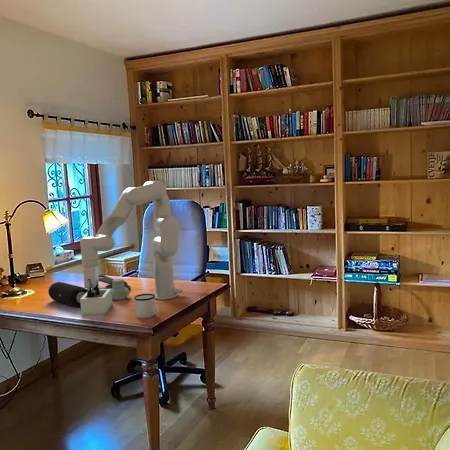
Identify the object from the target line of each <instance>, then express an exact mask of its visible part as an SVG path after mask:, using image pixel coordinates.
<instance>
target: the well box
mask: <svg viewBox="0 0 450 450" xmlns="http://www.w3.org/2000/svg"><path fill="white" fill-rule="evenodd" d="M99 293H100V294H99V295H97V297H92V298H87V292H86V293H85V295H84V296H83V297H82V298H81V299H80V304H81V307H80V313H81V317H86V316H87V317H88V316H100V315H101V316H102V315H106V314H107V313H108V311H109V310H110V309H111V307H112V306H113V299H112V292H111V289H106V288H101V289H100V288H99Z"/></svg>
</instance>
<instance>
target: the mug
mask: <svg viewBox="0 0 450 450" xmlns="http://www.w3.org/2000/svg"><path fill="white" fill-rule="evenodd" d="M154 294H155V293H141V294H138V295H135V296H134V297H133V299H134V300H135V311H136V314H135V315H136V318H139V319H150V318H152V317H154V316H155V315H156V314H158V313H159V305H158V303H157V302H155V299H154V298H155V295H154Z"/></svg>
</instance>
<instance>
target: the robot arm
mask: <svg viewBox="0 0 450 450" xmlns="http://www.w3.org/2000/svg"><path fill="white" fill-rule="evenodd" d="M148 203H152V204H153V205H152V206H153V229H154V231H155V232H156V233H158V234H160V235H157V236H155V238H153V239H152V240H151V241H152V242H151V245H150V247H151V252H152V258H153V269H154V281H155V293H153V294H154V295H155V298H154V300H171V299H175V298H176V297H178V295H179V294H181V293H184V289H183V288H180V287H179V288H176V285H175V281H174V280H175V279H174V264H173V257H174V256H175V255H176V254H177V253H178V249H179V242H180V241H179V239H180V238H179V237H180V235H179V234H180V233H179V231H180V229H179V228H180V227H179V223H178V221H177V219H176V218H175V217H173V216H172V213H171V212H172V211H171V200H170V198H169V195H168V193H167V185H166V184H165V183H164V182H163V181H160V180H147V181H146V182H144V184H143V185H141V186H137V187H135V186H133V187H132V186H130V187H127V188H126V189H124V191H122V193H121V195H120V196H119V199H118V201H117V202H116V203H115V206H114V208H113V209H112V210H111V212H110V214H108V216H107V217H106V218H105V220H104V221H103V222H102V224H101V225H100V227H99V228H98V230H97V232H96V234H95V236H85V237H81V238H80V241H79V243H80V255H81V264H82V268H83V287H84V288H85V289H87V298H92V297H94V292H93V291H94V290H96V294H97V295H99V294H100V293H99V289H100V287H99V286H100V284H99V283H100V281H99V276H98V275H99V270H98V266H99V265H100V263H99V252H109V251H111V250H112V249H114V247H115V243H116V242H115V239H114V238H113V236H114V233H115V232H116V231H117V230H118V229H119V228H120V227H121V226H123V225H124V224H126V223H127V222H128V220H129V219H130V216H131V215H132V214H133V211H134V209H135V208H136V206H140V205H144V204H148ZM178 293H179V294H178Z"/></svg>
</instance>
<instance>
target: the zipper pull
mask: <svg viewBox="0 0 450 450" xmlns="http://www.w3.org/2000/svg"><path fill="white" fill-rule="evenodd" d="M98 276H99V282H101V283H105V284H108V285H106V286H105V289H112V288H113V287H112V281H113V280H114V279H115V278H112V277H109V276H106V275H104V274H98ZM124 287H126V288H128V289H129V291H131V285H129V284H128V283H127V281H126V280H124Z"/></svg>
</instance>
